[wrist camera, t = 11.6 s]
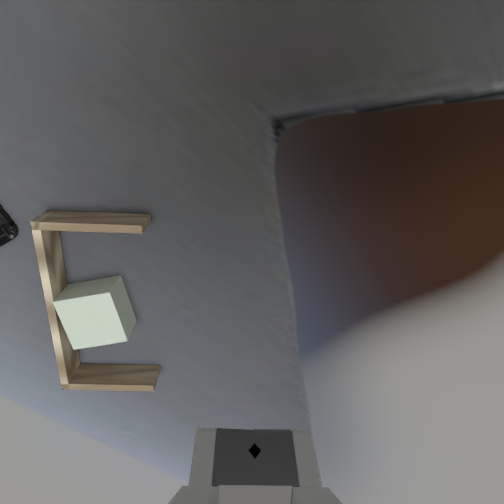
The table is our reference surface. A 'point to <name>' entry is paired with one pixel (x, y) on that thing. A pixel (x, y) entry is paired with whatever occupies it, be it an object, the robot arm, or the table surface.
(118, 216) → the wooden u-shaped bracket
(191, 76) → the table surface
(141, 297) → the table surface
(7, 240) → the phone
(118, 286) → the sage block
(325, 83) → the table surface
